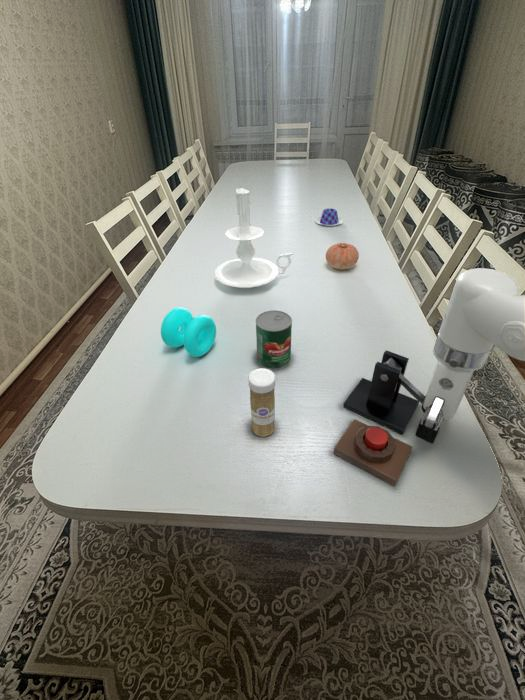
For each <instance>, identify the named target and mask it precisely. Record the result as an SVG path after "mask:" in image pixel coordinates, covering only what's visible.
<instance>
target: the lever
mask: <svg viewBox="0 0 525 700" xmlns="http://www.w3.org/2000/svg"><path fill="white" fill-rule="evenodd" d="M383 364H385V365H388V366H391V367H393V368H396V369H398V370H401V369H402V367H401V366H400V365H399V364H398V363H397V362H396V361H395V360H394V359H392V358H389V359H388V360H387V361H385V362H384V363H383ZM398 382H399V383H400V384H401V387H403V388H404V389H405V390H406V391H407V392H408V393H409V394H410V395H411V396H412V397H413V398H414V399H415V400H418V401H419V403H420V404H421V411H422V413H423V414H424V413H425V411H426V410H425V409H424V408H423V404H424V401H425V397H426V395H424V394H423V393H422V392H421V391H420V390H419V389H418V388H417V387H416V386H415V385H414V384H412V382H411V381H410V380H408V378H406V376H405V375H404V376H403V375H402V374H400V377H399V381H398ZM432 406H433V404H432V405H431V406H430V408H432ZM440 412H442V408H441V409H440ZM428 415H429V413H428Z"/></svg>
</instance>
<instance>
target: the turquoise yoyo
mask: <svg viewBox="0 0 525 700" xmlns="http://www.w3.org/2000/svg"><path fill="white" fill-rule="evenodd" d="M216 336H217V326H216V322H215V320H214V319H213V318H212V317H211V316H209V315H205V314H201V315H198V316H195V317H194V316H193V314H192V313H191V311H190V310H189V309H188V308H185V307H181V306H178V307H174V308H172V309H171V310H170V311H169V312H167V313H166V315H165V316H164V318H163V319H162V323H161V326H160V337H161V340H162V341H163V343H164V344H165V345H166V346H168V347H169V348H172V349H173V348H174V349H175V348H180V347H182V346H183V347H184V350H185V351H186V353H187V354H189V355H190V356H192V357H196V358H197V357H201V356H202V357H203V356H204V355H206V354H207V353H208V352H209V351H210V349H212V347H213V345H214V343H215V339H216Z"/></svg>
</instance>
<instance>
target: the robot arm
mask: <svg viewBox="0 0 525 700" xmlns="http://www.w3.org/2000/svg"><path fill="white" fill-rule="evenodd" d="M518 291H519V285H518V283H517V281H516V280H515V278H513V276H511V275H510V274H507V273H505V272H503V271H500V270H498V269H493V268H485V267H477V268H470V269H468V270H465V271H463V272H461V274H460V275H459V276H458V277H457V278H456V281H455V283H454V286H453V289H452V292H451V295H450V298H449V300H448V305H447V307H446V310H445V312H444V316H443V318H442V321H441V325H440V328H439V331H438V333H437V336H436V339H435V343H434V345H433V348H432V353H433V355H434V358H435V359H436V363H435V366H434V369H433V372H432V375H431V378H430V381H429V384H428V387H427V390H426V394H425V401H424V404H423V408H424V409H425V410H426V411H425V413H423V416H422V417H421V419H420V420H419V422H418V425H417V428H416V431H415V433H414V436H415V437H416V438H418V439H420V440H422V441H424V442H426V443H428V444H431V445H433V444H434V443H435V441H436V438H437V437H438V434H439V431H440V430H441V427H440V425H441V423H442V420H443V419H446V420H448V421H450V420H453V419H454V418H455V416H456V413H457V410H458V408H459V406H460V404H461V402H462V399H463V397H464V395H465V392H466V391H467V389H468V386H469V384H470V381H471V379H472V377H473V375H474V372H475V371H478V370H481V369H483V367H484V366H485V364H486V363H487V361H488V358H489V356H490V354H491V351H492V349H493V347H494V346H495V347H496V348H497V349H499V350H500V351H501V352H503V353H504V354H506V355H507V356H508V357H511V358H513V359H515V360H519V361H521V362H525V294H518ZM432 404H433V406H432V408H430V406H431V405H432ZM440 409H441V411H440ZM428 413H429V415H428ZM437 418H438V419H437ZM436 420H437V421H436Z"/></svg>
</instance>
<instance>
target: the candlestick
mask: <svg viewBox="0 0 525 700" xmlns="http://www.w3.org/2000/svg"><path fill="white" fill-rule="evenodd" d="M250 198H251V197H250V190H248V189H246V188H244V187H240V188H236V189H235V201H236V208H237V215H238V225H239V226H234V227H232V228H229V229H228V230H226V231H225V232H224V234H225V237H227V238H228V239H230V240H235V241H238V245H237V247H236V250H235V254H236V256H237V258H235V259H231V260H226V261H224V262H223V263H221V264H219V265H218V266H217V267H216V268H215V269H214V271H213V276H214V278H215V279H216V280H217V282H219V283H221V284H223V285H225V286H228V287H233V288H237V289H253V288H258V287H260V286H264V285H266V284H269V283H271V282H272V281H274V280H275V279H277V278H278V276H279V275H283V274H285V272H286V270H287V268H289V267H290V265H291V263H292V261H291V256H293V252H289V253H282V254H281V253H280V254H279V255H278V256H277V257H276V260H275V263H276V264H275V263H274V262H272V261H270V260H267V259H263V258H259V257H255V254H256V249H255V247H254V245H253V244H252V242H251V241H252V240H255V239H259V238H261V237H262V236H264V233H265V231H264V229H262V228H261V227H258V226H253V225H251V199H250ZM281 258H287V260H288V262H287V263H286V264H284V265H281V264H280V263H279V260H280V259H281ZM279 268H280V269H282V271H280V269H279Z"/></svg>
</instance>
